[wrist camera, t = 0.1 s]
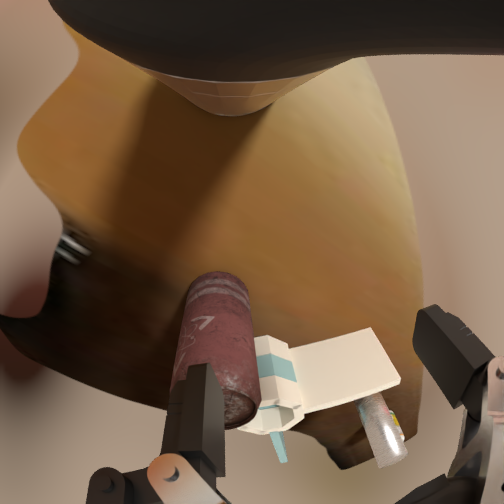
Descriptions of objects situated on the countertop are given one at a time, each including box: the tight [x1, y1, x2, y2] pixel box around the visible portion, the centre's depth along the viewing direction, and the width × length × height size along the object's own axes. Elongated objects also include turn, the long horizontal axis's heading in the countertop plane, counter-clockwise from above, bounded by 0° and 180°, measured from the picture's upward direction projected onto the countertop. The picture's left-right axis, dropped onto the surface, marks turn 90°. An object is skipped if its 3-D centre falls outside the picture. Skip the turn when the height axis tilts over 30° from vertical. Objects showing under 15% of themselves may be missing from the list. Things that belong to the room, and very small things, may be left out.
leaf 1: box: [256, 354, 297, 463], centre depth 31 cm, size 18×7×9 cm, turn 11°
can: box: [170, 271, 262, 430], centre depth 22 cm, size 6×6×14 cm
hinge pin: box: [354, 391, 408, 468], centre depth 28 cm, size 4×4×16 cm
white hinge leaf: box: [238, 327, 401, 435], centre depth 28 cm, size 7×18×9 cm, turn 101°
